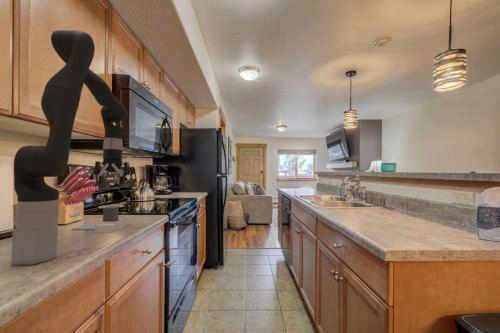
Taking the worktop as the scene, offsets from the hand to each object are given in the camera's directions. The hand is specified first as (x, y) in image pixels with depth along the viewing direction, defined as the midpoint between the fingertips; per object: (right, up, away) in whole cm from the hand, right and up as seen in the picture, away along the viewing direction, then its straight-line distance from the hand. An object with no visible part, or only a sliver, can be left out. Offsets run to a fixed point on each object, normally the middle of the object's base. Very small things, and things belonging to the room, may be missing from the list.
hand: (111, 184), depth 108 cm
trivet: (-11, -20, +2) cm, 23 cm away
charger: (0, -17, 0) cm, 17 cm away
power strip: (0, -20, +3) cm, 20 cm away
